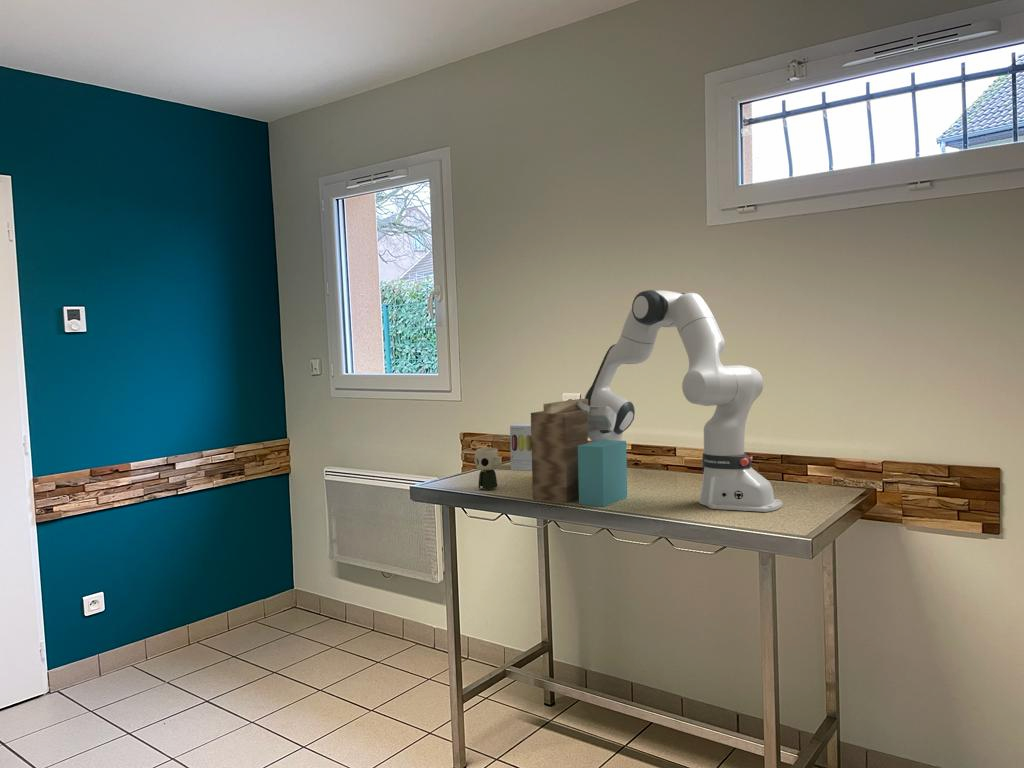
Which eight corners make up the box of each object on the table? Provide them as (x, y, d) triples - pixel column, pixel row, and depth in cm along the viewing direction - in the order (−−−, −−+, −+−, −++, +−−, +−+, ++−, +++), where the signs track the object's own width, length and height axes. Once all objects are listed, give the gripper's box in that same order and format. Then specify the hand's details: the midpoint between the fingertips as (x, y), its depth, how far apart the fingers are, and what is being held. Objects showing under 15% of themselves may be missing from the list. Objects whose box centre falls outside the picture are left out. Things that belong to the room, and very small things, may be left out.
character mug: (468, 489, 252) (467, 449, 252) (483, 485, 258) (482, 447, 257) (492, 492, 245) (491, 451, 245) (507, 489, 251) (506, 449, 250)
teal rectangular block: (627, 497, 232) (626, 440, 231) (603, 506, 220) (602, 447, 219) (603, 495, 236) (602, 439, 236) (579, 504, 224) (577, 445, 223)
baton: (588, 407, 246) (588, 398, 246) (551, 413, 228) (551, 404, 228) (580, 407, 247) (580, 398, 247) (543, 413, 229) (543, 403, 229)
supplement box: (509, 470, 289) (508, 425, 288) (515, 466, 298) (514, 422, 297) (535, 470, 287) (534, 425, 286) (539, 466, 296) (538, 422, 295)
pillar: (588, 495, 237) (587, 410, 236) (567, 502, 226) (565, 414, 225) (555, 491, 244) (553, 409, 243) (532, 499, 233) (530, 412, 232)
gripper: (565, 412, 257) (546, 394, 247) (621, 414, 246) (603, 394, 236) (561, 429, 255) (541, 411, 245) (617, 432, 243) (598, 413, 233)
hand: (572, 403), depth 240 cm, fingers closed on baton, 3 cm apart
